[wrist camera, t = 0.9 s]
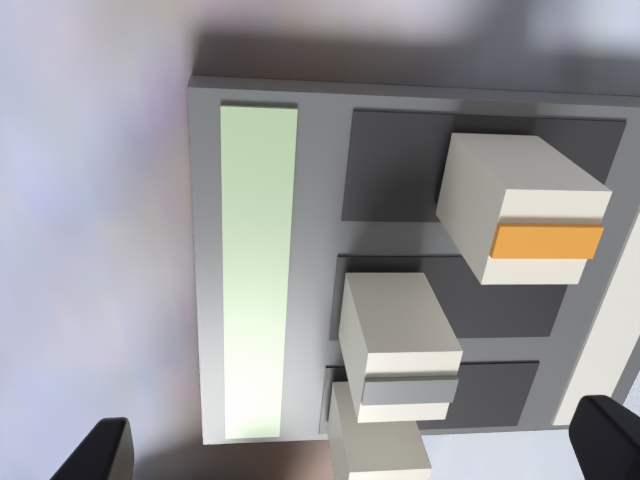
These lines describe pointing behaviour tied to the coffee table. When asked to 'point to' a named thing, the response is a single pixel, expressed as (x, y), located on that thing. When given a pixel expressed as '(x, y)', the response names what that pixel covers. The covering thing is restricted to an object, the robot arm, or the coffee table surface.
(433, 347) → the block
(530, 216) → the block
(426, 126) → the breaker panel
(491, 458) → the coffee table surface
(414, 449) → the block
